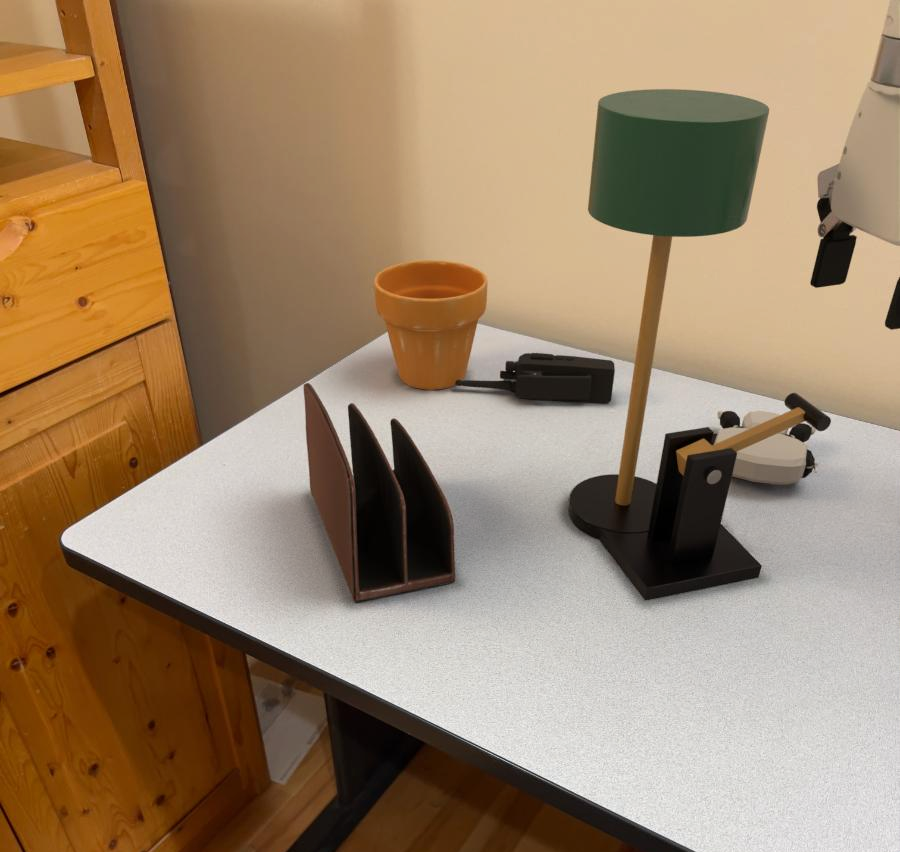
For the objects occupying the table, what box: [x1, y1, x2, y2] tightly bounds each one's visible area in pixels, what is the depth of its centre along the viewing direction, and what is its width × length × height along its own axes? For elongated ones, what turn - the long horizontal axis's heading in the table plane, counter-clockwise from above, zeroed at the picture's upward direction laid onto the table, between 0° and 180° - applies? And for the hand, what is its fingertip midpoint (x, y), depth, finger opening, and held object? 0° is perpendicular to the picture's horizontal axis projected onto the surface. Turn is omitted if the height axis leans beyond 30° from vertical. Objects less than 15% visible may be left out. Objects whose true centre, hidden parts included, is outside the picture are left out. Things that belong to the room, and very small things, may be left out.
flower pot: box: [373, 259, 488, 391], centre depth 114 cm, size 14×14×13 cm
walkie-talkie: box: [455, 352, 616, 403], centre depth 112 cm, size 6×6×20 cm
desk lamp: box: [567, 88, 770, 541], centre depth 80 cm, size 13×13×38 cm
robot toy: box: [711, 410, 819, 486], centre depth 99 cm, size 12×4×15 cm
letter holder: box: [303, 382, 456, 604], centre depth 85 cm, size 10×20×14 cm, turn 18°
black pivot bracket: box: [599, 426, 763, 602], centre depth 82 cm, size 12×10×13 cm
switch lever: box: [676, 392, 832, 476], centre depth 79 cm, size 13×5×2 cm, turn 107°
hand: (863, 304), depth 73 cm, fingers open, 9 cm apart
